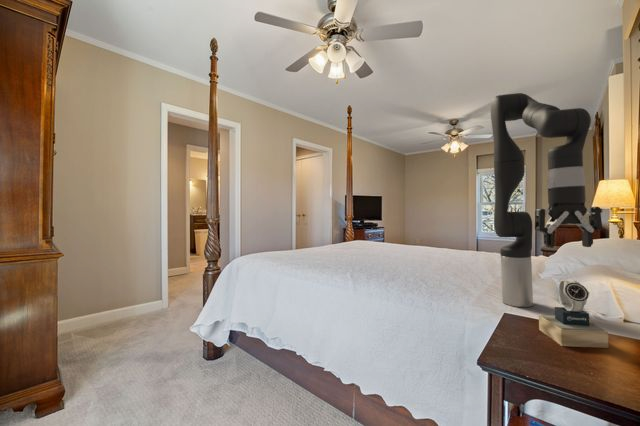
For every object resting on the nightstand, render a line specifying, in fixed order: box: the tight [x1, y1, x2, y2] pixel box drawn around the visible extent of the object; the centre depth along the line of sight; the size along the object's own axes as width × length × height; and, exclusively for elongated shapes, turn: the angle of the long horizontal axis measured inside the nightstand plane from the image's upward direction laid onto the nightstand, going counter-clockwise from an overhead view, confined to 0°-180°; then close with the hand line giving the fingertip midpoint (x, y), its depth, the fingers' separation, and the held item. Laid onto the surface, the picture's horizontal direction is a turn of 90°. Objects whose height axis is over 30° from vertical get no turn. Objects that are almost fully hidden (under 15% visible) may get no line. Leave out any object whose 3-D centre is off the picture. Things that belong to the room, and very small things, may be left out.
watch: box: [554, 279, 591, 326], centre depth 76 cm, size 6×8×11 cm
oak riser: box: [538, 314, 609, 349], centre depth 76 cm, size 10×10×4 cm
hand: (568, 247), depth 76 cm, fingers open, 8 cm apart
